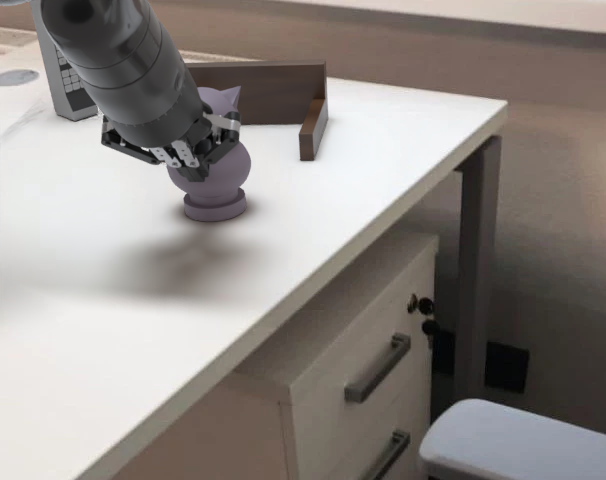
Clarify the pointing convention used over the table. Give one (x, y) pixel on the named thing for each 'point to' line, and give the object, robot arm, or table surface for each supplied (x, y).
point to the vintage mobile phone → (61, 76)
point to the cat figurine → (217, 171)
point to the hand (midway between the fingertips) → (197, 172)
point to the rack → (274, 94)
